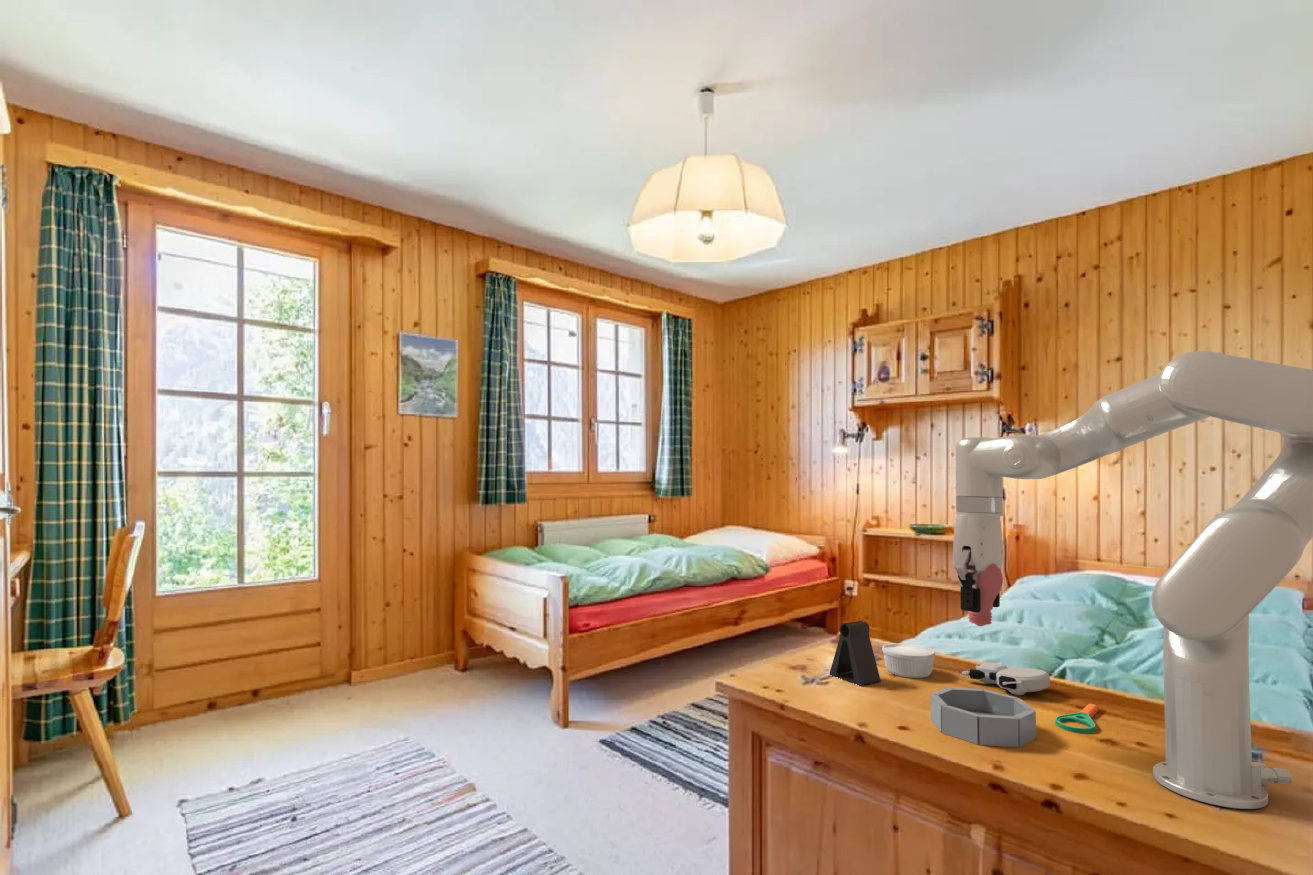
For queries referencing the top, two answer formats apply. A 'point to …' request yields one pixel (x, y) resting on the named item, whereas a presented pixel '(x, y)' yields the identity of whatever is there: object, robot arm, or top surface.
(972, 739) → the ceramic bowl
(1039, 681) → the robot toy
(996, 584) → the light bulb
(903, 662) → the ramekin
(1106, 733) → the top surface
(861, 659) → the phone stand
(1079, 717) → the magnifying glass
